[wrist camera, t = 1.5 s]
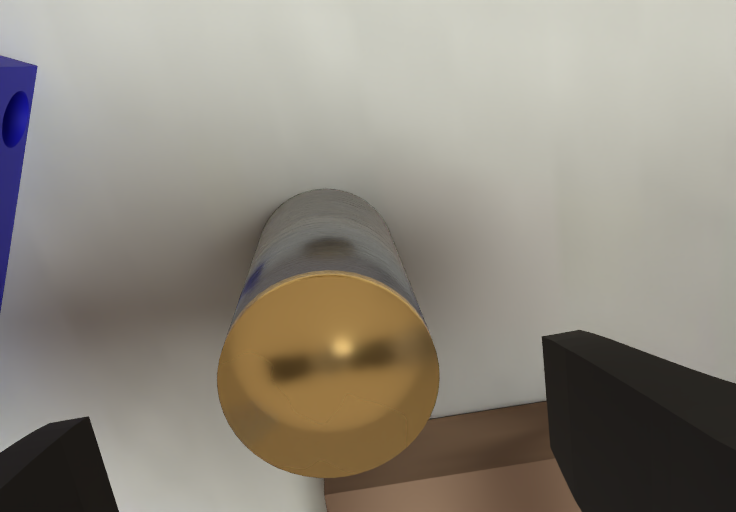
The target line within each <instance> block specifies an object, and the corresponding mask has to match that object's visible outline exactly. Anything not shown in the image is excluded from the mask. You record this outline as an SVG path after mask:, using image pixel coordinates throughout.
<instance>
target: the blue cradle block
mask: <svg viewBox="0 0 736 512" xmlns="http://www.w3.org/2000/svg"><path fill="white" fill-rule="evenodd" d="M36 73H37V66H36V65H32V64H29V63H25V62H22V61H18V60H15V59H11V58H7V57H4V56H0V311H1V305H2V298H3V291H4V285H5V278H6V271H7V265H8V258H9V252H10V245H11V238H12V232H13V225H14V218H15V212H16V205H17V199H18V192H19V185H20V179H21V172H22V165H23V159H24V152H25V145H26V139H27V132H28V126H29V119H30V112H31V106H32V99H33V92H34V86H35V79H36Z"/></svg>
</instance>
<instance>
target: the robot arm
mask: <svg viewBox="0 0 736 512" xmlns="http://www.w3.org/2000/svg"><path fill="white" fill-rule="evenodd" d="M542 345H543V358H544V371H545V384H546V398H547V411H548V424H549V437H550V448H551V450H552V452H553V454H554V457H555V459H556V461H557V463H558V466H559V468H560V470H561V472H562V474H563V477H564V479H565V481H566V483H567V485H568V487H569V489H570V491H571V493H572V495H573V497H574V500H575V501H576V503H577V505H578V506H579V508H580V509H581V511H582V512H736V384H735V383H732V382H729V381H725V380H722V379H719V378H716V377H713V376H710V375H707V374H704V373H701V372H698V371H695V370H692V369H690V368H687V367H684V366H681V365H678V364H676V363H673V362H670V361H667V360H665V359H662V358H659V357H657V356H654V355H651V354H649V353H646V352H643V351H641V350H638V349H635V348H633V347H630V346H627V345H625V344H622V343H619V342H617V341H614V340H611V339H608V338H605V337H602V336H599V335H596V334H593V333H590V332H586V331H582V330H576V331H571V332H565V333H559V334H554V335H548V336H542ZM0 512H119V510H118V507H117V504H116V501H115V498H114V495H113V491H112V488H111V485H110V482H109V479H108V476H107V472H106V469H105V466H104V463H103V460H102V456H101V453H100V450H99V447H98V444H97V441H96V437H95V434H94V431H93V428H92V425H91V422H90V418H89V416H88V417H82V418H77V419H71V420H65V421H60V422H54V423H49V424H47V425H45V426H43V427H41V428H39V429H37V430H35V431H34V432H32V433H30V434H29V435H27V436H25V437H24V438H22V439H21V440H19V441H17V442H16V443H14V444H13V445H11V446H10V447H8V448H7V449H5V450H4V451H2V452H1V453H0Z"/></svg>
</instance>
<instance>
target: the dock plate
mask: <svg viewBox="0 0 736 512" xmlns="http://www.w3.org/2000/svg"><path fill="white" fill-rule="evenodd" d="M324 496H325V501H326V507H327V512H582V511H581V509H580V508H579V506H578V505H577V503H576V501H575V500H574V497H573V495H572V493H571V491H570V489H569V487H568V485H567V483H566V481H565V479H564V477H563V474H562V472H561V470H560V468H559V466H558V463H557V461H556V459H555V457H554V454H553V452H552V450H551V448H550V437H549V424H548V411H547V401H545V402H539V403H532V404H526V405H520V406H513V407H507V408H500V409H494V410H488V411H481V412H475V413H468V414H462V415H455V416H449V417H443V418H436V419H430V420H428V421H427V423H426V425H425V426H424V428H423V429H422V431H421V432H420V433H419V435H418V436H417V437H416V439H415V440H414V441H413V442H412V443H411V444H410V445H409V446H408V447H407V448H406V449H404V450H403V451H402V452H401V453H399V454H398V455H397V456H396V457H394V458H392V459H391V460H389V461H388V462H386V463H384V464H382V465H380V466H378V467H376V468H374V469H371V470H368V471H365V472H362V473H359V474H355V475H350V476H346V477H336V478H324Z"/></svg>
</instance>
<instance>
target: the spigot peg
mask: <svg viewBox="0 0 736 512" xmlns="http://www.w3.org/2000/svg"><path fill="white" fill-rule="evenodd" d="M217 387H218V394H219V400H220V403H221V407H222V410H223V413H224V415H225V417H226V419H227V421H228V423H229V425H230V427H231V428H232V430H233V431H234V433H235V434H236V436H237V437H238V438H239V439H240V440H241V442H242V443H243V444H244V445H245V446H246V447H247V448H248V449H250V450H251V451H252V452H253V453H254V454H255V455H257V456H258V457H260V458H261V459H263V460H264V461H266V462H267V463H269V464H271V465H273V466H275V467H277V468H279V469H282V470H285V471H287V472H290V473H294V474H298V475H302V476H308V477H316V478H336V477H346V476H350V475H355V474H359V473H362V472H365V471H368V470H371V469H374V468H376V467H378V466H380V465H382V464H384V463H386V462H388V461H389V460H391V459H392V458H394V457H396V456H397V455H398V454H399V453H401V452H402V451H403V450H404V449H406V448H407V447H408V446H409V445H410V444H411V443H412V442H413V441H414V440H415V439H416V437H417V436H418V435H419V433H420V432H421V431H422V429H423V428H424V426H425V425H426V423H427V421H428V419H429V418H430V416H431V413H432V411H433V408H434V406H435V402H436V398H437V394H438V388H439V363H438V358H437V353H436V350H435V347H434V344H433V341H432V338H431V336H430V333H429V331H428V328H427V326H426V323H425V321H424V318H423V316H422V313H421V310H420V308H419V305H418V303H417V300H416V298H415V295H414V293H413V290H412V288H411V285H410V283H409V280H408V277H407V275H406V272H405V270H404V267H403V265H402V262H401V260H400V257H399V255H398V252H397V249H396V247H395V244H394V242H393V239H392V237H391V234H390V232H389V229H388V227H387V225H386V223H385V221H384V220H383V218H382V217H381V215H380V214H379V213H378V212H377V211H376V210H375V209H374V208H373V207H372V206H371V205H370V204H369V203H367V202H366V201H364V200H363V199H361V198H360V197H358V196H356V195H353V194H351V193H348V192H345V191H341V190H335V189H317V190H311V191H307V192H304V193H301V194H298V195H296V196H294V197H292V198H290V199H289V200H288V201H286V202H285V203H283V204H282V205H281V206H280V207H279V208H278V209H276V211H275V212H274V213H273V214H272V215H271V217H270V218H269V220H268V221H267V223H266V225H265V227H264V229H263V231H262V234H261V237H260V240H259V243H258V246H257V249H256V252H255V255H254V258H253V261H252V264H251V266H250V269H249V272H248V275H247V278H246V281H245V284H244V287H243V290H242V293H241V296H240V299H239V302H238V305H237V308H236V311H235V314H234V317H233V319H232V322H231V325H230V328H229V331H228V334H227V337H226V340H225V343H224V346H223V349H222V353H221V356H220V359H219V365H218V372H217Z"/></svg>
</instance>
